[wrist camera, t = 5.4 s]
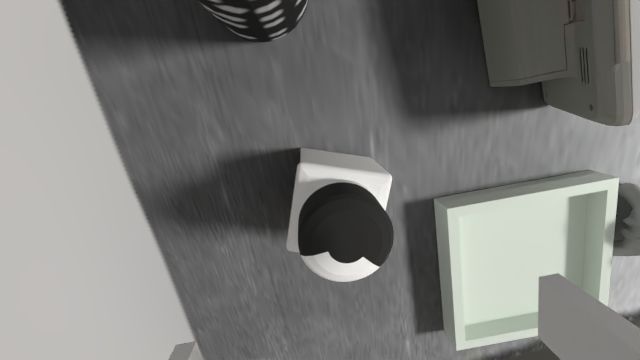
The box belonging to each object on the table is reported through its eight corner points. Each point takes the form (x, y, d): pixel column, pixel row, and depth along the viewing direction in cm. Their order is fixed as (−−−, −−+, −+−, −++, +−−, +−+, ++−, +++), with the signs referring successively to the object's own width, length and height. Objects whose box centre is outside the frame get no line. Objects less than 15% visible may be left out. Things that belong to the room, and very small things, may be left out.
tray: (433, 198, 31) (447, 209, 28) (590, 169, 31) (619, 177, 28) (443, 329, 36) (456, 350, 33) (581, 304, 36) (606, 322, 33)
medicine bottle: (298, 146, 29) (296, 180, 18) (373, 157, 30) (418, 196, 18) (289, 217, 31) (281, 290, 19) (359, 225, 32) (392, 301, 20)
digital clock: (562, 111, 30) (698, 120, 20) (469, 121, 30) (558, 136, 19) (583, -91, 25) (773, -217, 15) (474, -82, 25) (593, -203, 15)
